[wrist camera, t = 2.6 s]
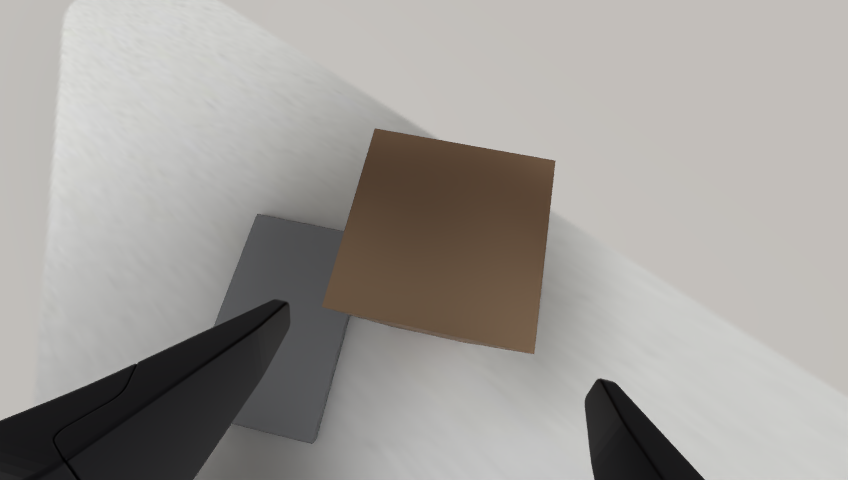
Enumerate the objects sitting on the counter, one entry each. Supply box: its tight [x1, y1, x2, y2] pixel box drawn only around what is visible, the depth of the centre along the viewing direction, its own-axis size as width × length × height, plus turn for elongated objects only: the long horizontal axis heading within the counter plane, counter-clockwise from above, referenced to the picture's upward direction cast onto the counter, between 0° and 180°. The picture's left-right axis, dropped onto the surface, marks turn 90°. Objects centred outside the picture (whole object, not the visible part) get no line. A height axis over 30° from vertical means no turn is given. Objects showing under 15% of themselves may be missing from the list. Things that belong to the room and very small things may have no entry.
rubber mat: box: [214, 214, 350, 444], centre depth 18 cm, size 11×7×1 cm, turn 168°
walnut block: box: [322, 129, 555, 354], centre depth 13 cm, size 4×4×12 cm
